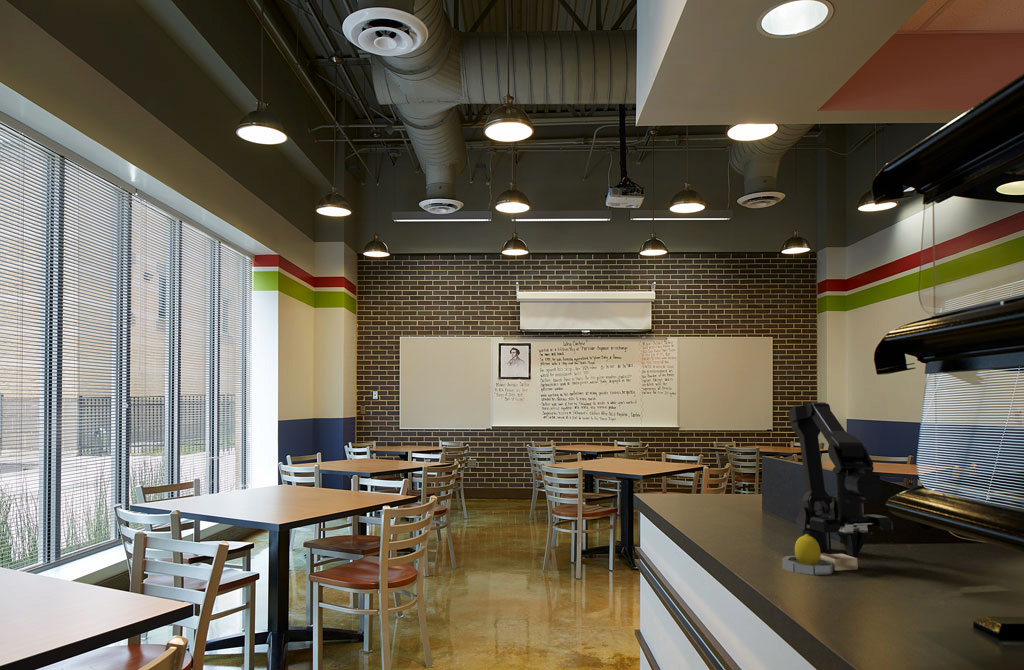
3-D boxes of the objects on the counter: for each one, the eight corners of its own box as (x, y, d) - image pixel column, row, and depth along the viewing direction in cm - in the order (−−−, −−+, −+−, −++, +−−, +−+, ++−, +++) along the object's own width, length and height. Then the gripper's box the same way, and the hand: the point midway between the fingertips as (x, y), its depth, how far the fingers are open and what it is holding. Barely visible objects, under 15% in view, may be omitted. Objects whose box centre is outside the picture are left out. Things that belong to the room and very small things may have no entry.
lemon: (824, 569, 157) (823, 534, 158) (815, 573, 153) (814, 537, 154) (800, 565, 161) (799, 531, 161) (791, 569, 157) (790, 534, 157)
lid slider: (842, 564, 162) (842, 552, 162) (857, 569, 157) (857, 556, 157) (820, 565, 160) (820, 553, 161) (835, 570, 155) (834, 558, 156)
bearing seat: (812, 563, 163) (812, 554, 163) (842, 573, 153) (842, 564, 153) (774, 565, 160) (774, 556, 161) (802, 576, 150) (802, 566, 151)
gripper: (858, 488, 171) (861, 551, 169) (793, 490, 167) (796, 555, 165) (892, 493, 160) (896, 561, 159) (824, 496, 156) (827, 565, 154)
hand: (852, 560), depth 159 cm, fingers closed
